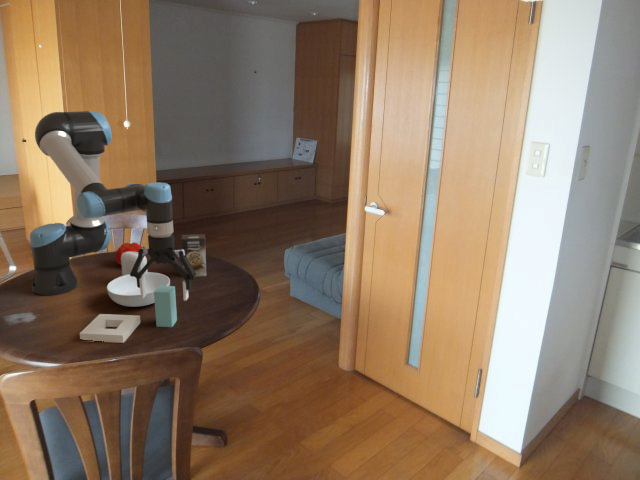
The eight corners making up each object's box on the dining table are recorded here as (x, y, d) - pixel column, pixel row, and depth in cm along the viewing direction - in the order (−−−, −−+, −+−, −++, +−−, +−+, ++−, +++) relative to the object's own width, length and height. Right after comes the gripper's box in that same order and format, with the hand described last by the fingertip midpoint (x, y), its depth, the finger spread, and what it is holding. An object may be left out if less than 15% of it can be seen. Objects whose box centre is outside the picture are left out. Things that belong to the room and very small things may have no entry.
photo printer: (150, 282, 190) (148, 252, 187) (142, 286, 186) (140, 255, 183) (128, 278, 194) (126, 248, 190) (121, 282, 190) (118, 251, 186)
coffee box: (183, 277, 196) (181, 239, 191) (183, 271, 202) (181, 234, 197) (206, 276, 198) (205, 238, 193) (206, 270, 204) (204, 233, 199)
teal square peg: (156, 326, 157) (153, 291, 153) (161, 319, 161) (159, 285, 158) (172, 327, 156) (169, 292, 153) (177, 320, 161) (174, 286, 158)
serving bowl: (126, 287, 185) (124, 270, 183) (179, 291, 184) (178, 274, 181) (96, 311, 166) (94, 292, 164) (156, 316, 164) (155, 297, 162)
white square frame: (80, 340, 147) (79, 333, 146) (100, 320, 159) (99, 313, 158) (123, 342, 146) (122, 335, 145) (140, 322, 159) (139, 315, 158)
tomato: (118, 261, 211) (116, 241, 208) (147, 260, 214) (146, 240, 211) (114, 270, 201) (112, 249, 198) (145, 268, 204) (143, 248, 201)
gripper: (114, 235, 147) (121, 300, 153) (198, 239, 146) (200, 304, 152) (125, 228, 154) (130, 291, 160) (204, 232, 153) (206, 294, 160)
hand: (164, 297), depth 156 cm, fingers open, 13 cm apart
